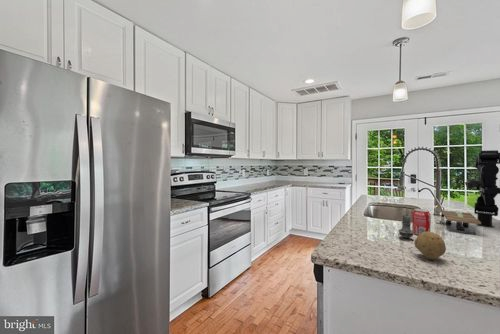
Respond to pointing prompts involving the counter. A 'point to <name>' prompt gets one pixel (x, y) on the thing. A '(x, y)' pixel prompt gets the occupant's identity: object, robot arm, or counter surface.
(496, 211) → the robot arm
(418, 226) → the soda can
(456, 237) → the counter surface
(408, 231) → the dark grey tall piece
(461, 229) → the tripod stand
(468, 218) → the instrument deck
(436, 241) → the potato
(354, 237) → the counter surface
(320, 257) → the counter surface
